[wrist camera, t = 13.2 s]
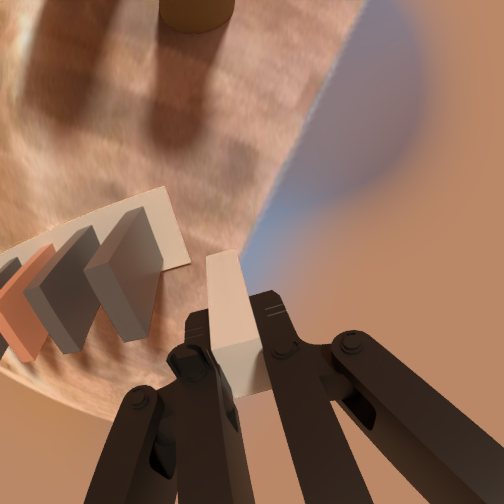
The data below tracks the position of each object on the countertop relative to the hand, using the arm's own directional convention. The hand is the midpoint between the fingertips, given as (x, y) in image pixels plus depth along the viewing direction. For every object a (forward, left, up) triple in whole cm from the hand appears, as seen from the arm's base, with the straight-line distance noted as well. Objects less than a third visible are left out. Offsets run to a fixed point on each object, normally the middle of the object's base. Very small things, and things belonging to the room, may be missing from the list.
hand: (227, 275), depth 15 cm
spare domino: (-16, 0, -10) cm, 19 cm away
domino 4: (-11, 0, -10) cm, 15 cm away
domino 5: (-6, 0, -10) cm, 11 cm away
